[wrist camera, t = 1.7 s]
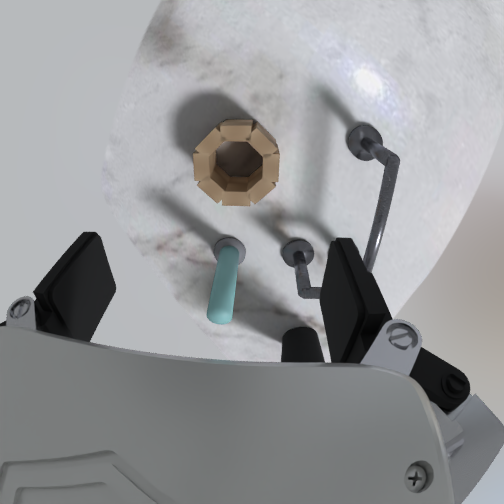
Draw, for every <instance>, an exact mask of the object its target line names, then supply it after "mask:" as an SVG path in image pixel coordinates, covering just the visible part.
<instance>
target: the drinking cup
mask: <svg viewBox="0 0 504 504" xmlns="http://www.w3.org/2000/svg"><path fill="white" fill-rule="evenodd" d="M281 362H287V363H320V362H321V363H325V361H324V357H323V353H322V350H321V346H320V342H319V339H318V335H317V333H316V331H314V330H313V329H311V328H307V327H298V328H294V329H291V330H289V331H288V332H286V333H285V335H284V336H283V341H282V355H281Z"/></svg>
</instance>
